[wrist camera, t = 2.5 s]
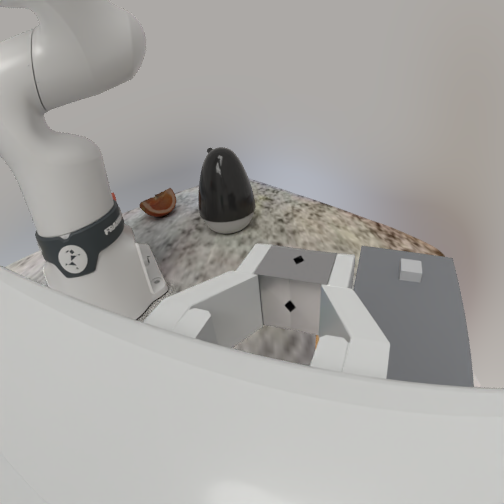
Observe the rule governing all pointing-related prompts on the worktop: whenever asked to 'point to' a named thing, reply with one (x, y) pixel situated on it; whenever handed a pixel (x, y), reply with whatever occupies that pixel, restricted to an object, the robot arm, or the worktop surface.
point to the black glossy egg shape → (225, 192)
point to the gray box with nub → (417, 315)
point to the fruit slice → (159, 204)
